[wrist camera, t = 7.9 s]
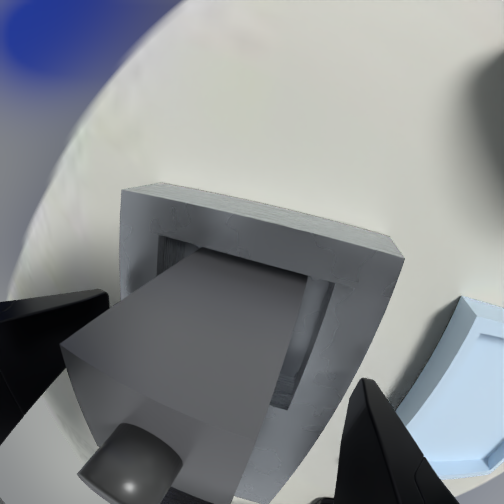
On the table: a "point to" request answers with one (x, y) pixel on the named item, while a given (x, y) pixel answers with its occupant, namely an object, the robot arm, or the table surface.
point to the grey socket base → (310, 312)
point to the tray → (461, 395)
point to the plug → (183, 377)
